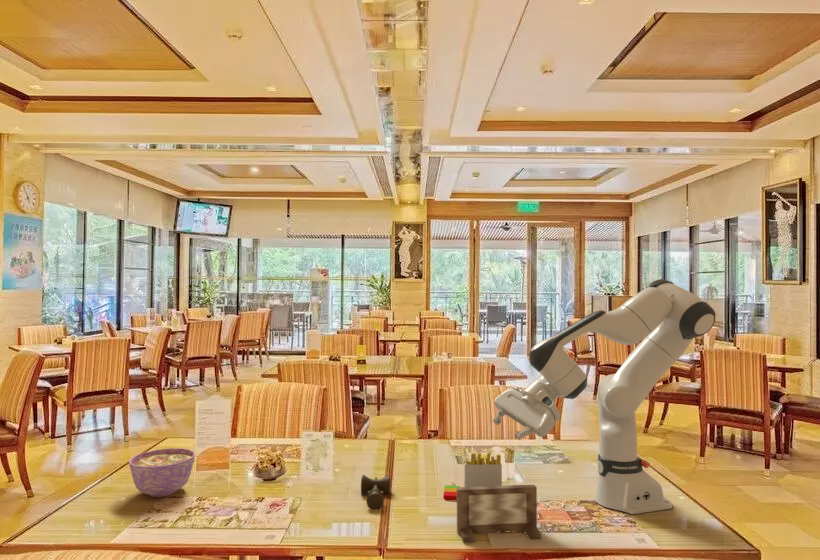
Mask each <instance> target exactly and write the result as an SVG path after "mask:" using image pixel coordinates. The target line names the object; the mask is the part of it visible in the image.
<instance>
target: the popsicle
mask: <svg viewBox="0 0 820 560" xmlns="http://www.w3.org/2000/svg"><path fill="white" fill-rule="evenodd" d="M457 487H462V486H460V485H455V481H451V485H444V488H443V500H444V499H445V500H444V501H452V500H456V501H455V502H457Z"/></svg>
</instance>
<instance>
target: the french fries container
mask: <svg viewBox="0 0 820 560" xmlns="http://www.w3.org/2000/svg"><path fill="white" fill-rule="evenodd" d="M486 454H487V455H486V457H485V458H484V457H482V456H481V455H482V453H480V452H477V454H476V452H471V454H470V460H469V458H466V459H465V462H464V464H463V473H464V474H463V475H464V478H463V487H482V486H503V484H502V483H503V480H502V479H503V477H502V476H503V475H502V474H503V471H502V469H503V466H502V462H501V461H502V460H501V458H502V457H501V456H502V455H501V454H499V453H497V454H496V458H495V456H494V455H492V456H491V452H487V453H486Z"/></svg>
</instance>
